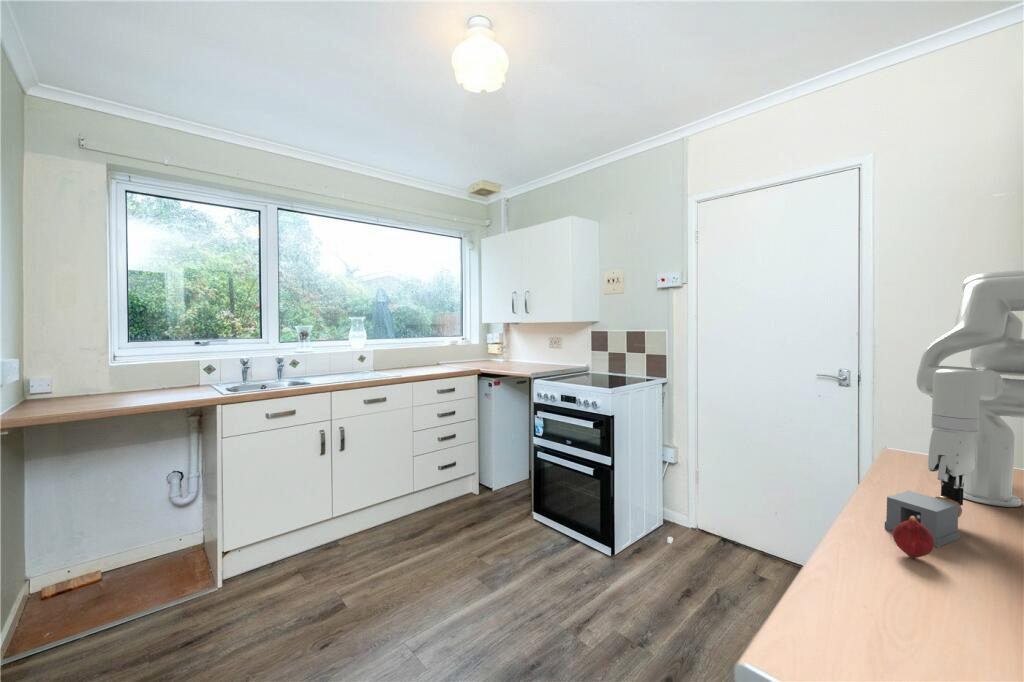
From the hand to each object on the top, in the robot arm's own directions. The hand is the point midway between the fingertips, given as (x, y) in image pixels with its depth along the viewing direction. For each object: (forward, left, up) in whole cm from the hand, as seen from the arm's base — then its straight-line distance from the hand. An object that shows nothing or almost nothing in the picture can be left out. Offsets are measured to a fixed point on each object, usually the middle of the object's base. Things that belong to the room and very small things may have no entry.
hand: (951, 503), depth 99 cm
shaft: (+8, 0, -3) cm, 9 cm away
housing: (+13, 0, -4) cm, 14 cm away
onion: (+27, +4, -5) cm, 28 cm away
